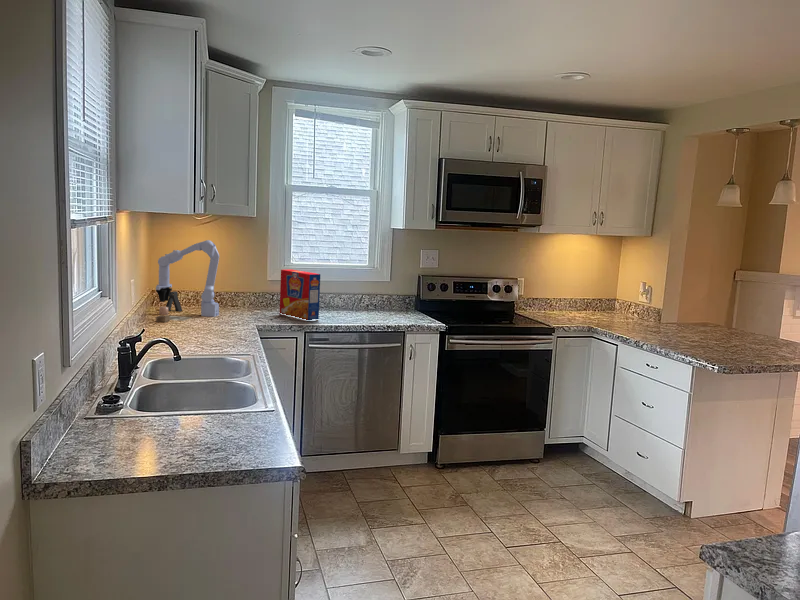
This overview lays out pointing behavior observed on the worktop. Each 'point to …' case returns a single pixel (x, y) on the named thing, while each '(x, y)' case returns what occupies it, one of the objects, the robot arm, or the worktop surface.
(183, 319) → the letter board
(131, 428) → the worktop surface
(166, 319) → the walnut block
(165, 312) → the terracotta cylinder
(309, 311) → the pasta box
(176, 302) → the phone stand
